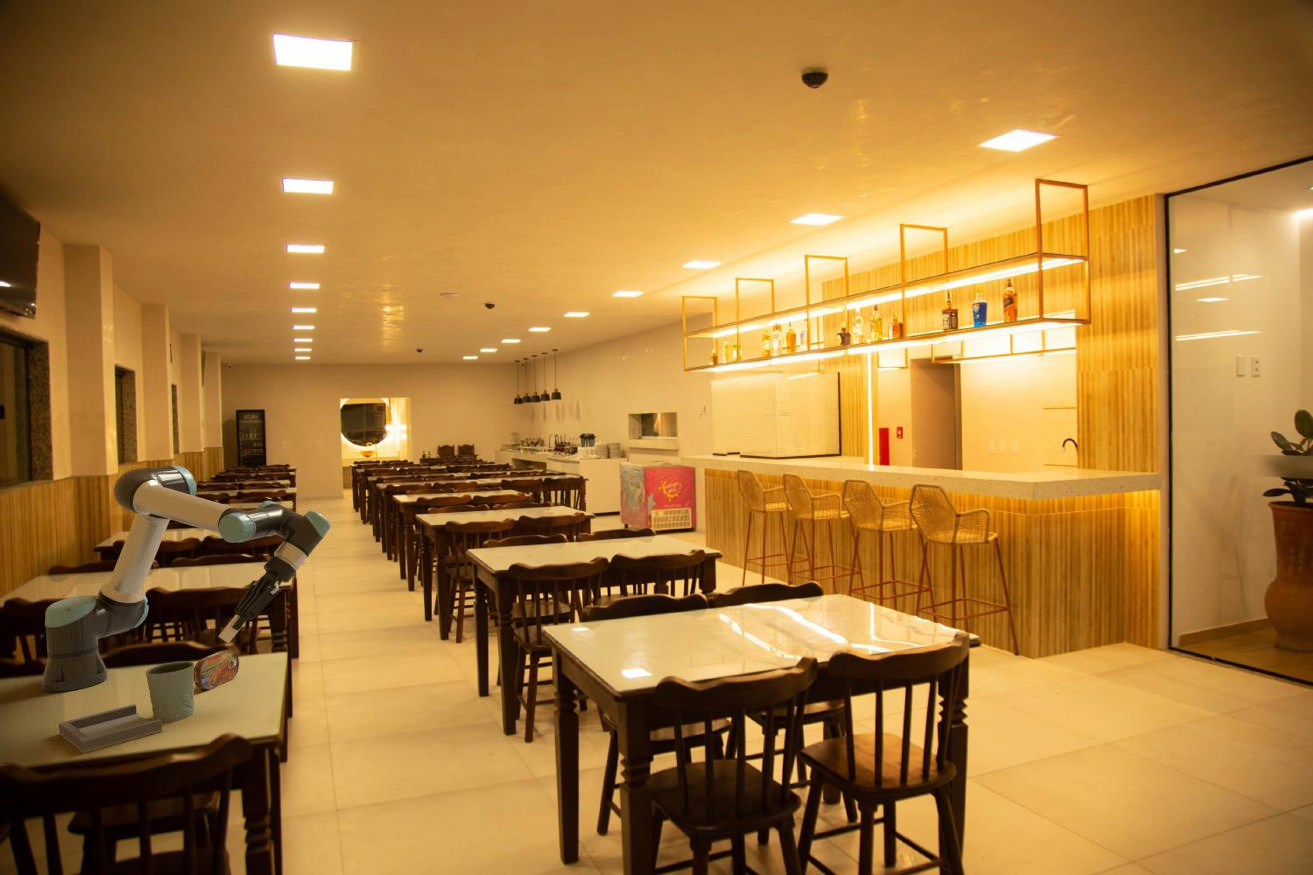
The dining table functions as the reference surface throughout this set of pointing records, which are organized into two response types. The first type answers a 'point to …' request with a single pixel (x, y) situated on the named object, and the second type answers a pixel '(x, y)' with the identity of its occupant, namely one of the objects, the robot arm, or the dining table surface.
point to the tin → (216, 669)
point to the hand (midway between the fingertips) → (223, 639)
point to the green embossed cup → (171, 690)
